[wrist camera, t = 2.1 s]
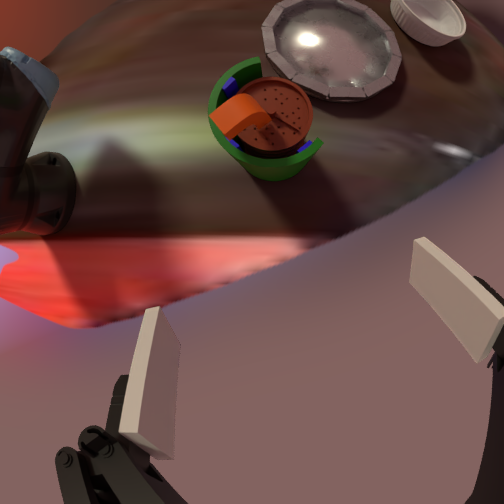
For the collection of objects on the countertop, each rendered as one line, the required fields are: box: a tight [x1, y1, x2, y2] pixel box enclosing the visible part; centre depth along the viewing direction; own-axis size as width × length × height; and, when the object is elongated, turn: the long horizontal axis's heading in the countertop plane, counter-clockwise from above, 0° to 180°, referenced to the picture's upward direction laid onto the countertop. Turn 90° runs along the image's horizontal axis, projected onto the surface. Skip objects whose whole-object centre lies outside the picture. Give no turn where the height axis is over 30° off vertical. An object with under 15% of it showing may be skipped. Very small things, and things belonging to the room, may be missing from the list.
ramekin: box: [390, 0, 466, 46], centre depth 24 cm, size 13×13×7 cm
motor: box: [208, 57, 324, 181], centre depth 26 cm, size 10×9×20 cm
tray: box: [262, 0, 402, 103], centre depth 30 cm, size 20×20×3 cm
